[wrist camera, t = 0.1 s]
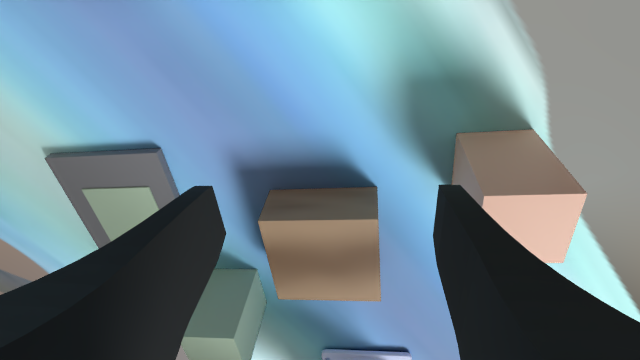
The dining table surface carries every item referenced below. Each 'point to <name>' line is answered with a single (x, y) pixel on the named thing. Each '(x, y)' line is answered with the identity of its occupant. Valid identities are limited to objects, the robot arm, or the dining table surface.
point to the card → (114, 188)
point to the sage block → (226, 317)
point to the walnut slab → (323, 243)
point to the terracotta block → (521, 188)
